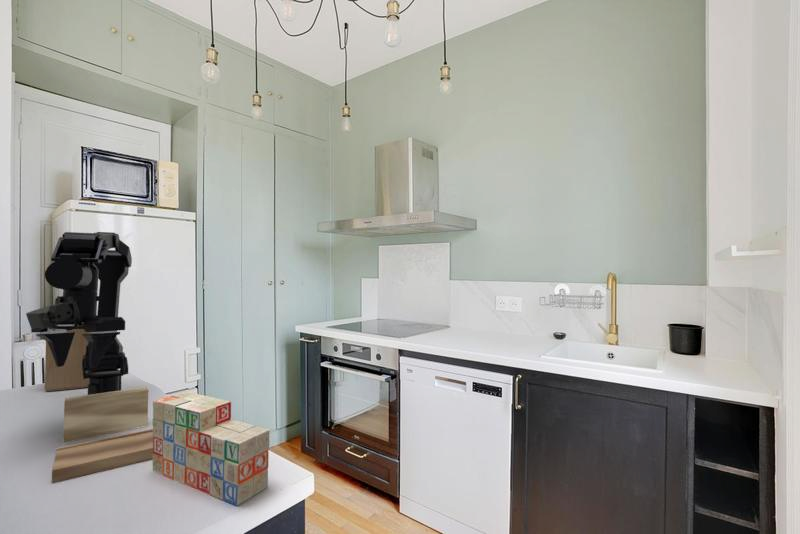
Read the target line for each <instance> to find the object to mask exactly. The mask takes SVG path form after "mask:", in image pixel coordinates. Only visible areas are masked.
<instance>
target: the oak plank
mask: <svg viewBox="0 0 800 534" xmlns="http://www.w3.org/2000/svg"><path fill="white" fill-rule="evenodd" d="M63 413H64V415H63V443H68V442H72V440H73V441H77V440H83V439H89V438H93V437H98V436H103V435H108V434H114V433H118V432H119V431H120V432H124V431H123V430H125V431H129V430H128V429H130V430H133V429H132V428H136V429H138V428H137V427H141V428H143V427H142V426H146V427H148V426H147V425H148V420H149V419H148V417H149V416H148V415H149V389H148V387H147V386H143V387H136V388H135V387H134V388H126V389H121V390H120V391H113V392H106V393H99V394H92V395H88V394H85V395H78V396H71V397H66V398H65V399H64V408H63ZM67 441H68V442H67Z"/></svg>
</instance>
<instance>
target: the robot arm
mask: <svg viewBox="0 0 800 534" xmlns="http://www.w3.org/2000/svg"><path fill="white" fill-rule="evenodd" d="M113 249H114V250H113ZM132 259H133V258H132V252H131V250H130V247H129V246H128V245H127V244H126V243H125V242H123V241H122V240H121V239H120V235H119V233H115V232H109V231H108V232H107V231H96V232H74V231H73V232H71V231H65V232H64V233H62V236H61V237H58V240H57V242H56V244H55V247H54V249H53V252H52V255H51V258H50V261H51V263H50V264H49V265H48V266H47V267H46V269H45V271H44V278H45V281H46V282H47V283H48V285H50V286H51V287H53V288H56V289H59V290H62V295H61V296H60V295H59V296H56V298H55V299H54V304H50V305H47V306H43V307H41V308H38V309H34V310H31V311H29V312H26V313H25V315H26V319H27V320H28V321H27V322H28V324H29V326H30V332H31V333H36V334H35V336H36V337H39V338H41V339H42V340H44V341H45V342H46V341H47V343H48V345H49V347H50V349H51V352H52V355H53V357H54V360H55V363H56V366H57V367H62V366H64V364H65V361H66V359H67V356H68V353H69V350H70V347H71V344H72V341H73V337H74V334H75V332H66V330H73V329H84V330H85V332H92V333H90V334H82V335H83V336H84V337H85V338H86V340H87V341H88V342H89V344H88V345H87V347H86V355H84V356H83V359H82V369H83V379H87V378H90V381H89V385H88V387H87V395H92V394H99V393H106V392H113V391H120V390H122V377H123V376H124V375H128V374H129V363H128V358H127V357H126V354H125V352H124V347H123V345H122V343H121V342H120V340H119V339H118V337H117V336H118V335H121V331H126V320H125V318H123V317H122V316H119V307H120V295H121V283H122V282H123V281H124V280H125V279H126V277H127V276H128V275H129V270H130V269H129V268H131V267H132V263H133V262H132V261H133V260H132ZM98 291H99V292H98ZM83 322H84V323H83ZM82 325H83V326H82Z"/></svg>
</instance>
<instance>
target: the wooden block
mask: <svg viewBox="0 0 800 534" xmlns="http://www.w3.org/2000/svg"><path fill="white" fill-rule="evenodd" d="M83 323H84V322H83ZM82 326H83V325H82ZM66 332H75V334H74V337H73V341H72V344H71V347H70V350H69V353H68V356H67V359H66V361H65V364H64V366H62V367H57V366H56V363H55V360H54V357H53V355H52V352H51V349H50V347H49V345H48V343H47V341H45V361H44V362H45V363H44V364H45V366H44V367H45V368H44V390H45V391H46V392H55V391H65V390H77V389H86V388H88V385H89V381H90V378H87V379H83V369H82V359H83V356H84V355H86V347H87V345H88V344H89V342H88V341H87V340H86V338H85V337H84V336H83V335H82V334H90V333H92V332H85V330H84V329H73V330H66Z"/></svg>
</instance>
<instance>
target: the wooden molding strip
mask: <svg viewBox="0 0 800 534" xmlns="http://www.w3.org/2000/svg"><path fill="white" fill-rule="evenodd" d="M55 451H56V452H55V455H54V460H53V463H52V464H53V466H52V470H51V483H52V484H53V483H57V482H62V481H65V480H70V479H73V478H78V477H81V476H86V475H91V474H96V473H99V472H100V473H101V472H103V471H107V470H112V469H116V468H119V467H120V468H121V467H125V466H130V465H133V464H137V463H140V462H141V463H142V462H146V461H149V460H153V428H150V429H144V430H141V431H136V432H131V433H130V432H129V433H124V434H120V435H115V436H109V437H104V438H100V439H94V440H90V441H85V442H80V443H74V444H69V445H64V446H59V447H56V450H55Z"/></svg>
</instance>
